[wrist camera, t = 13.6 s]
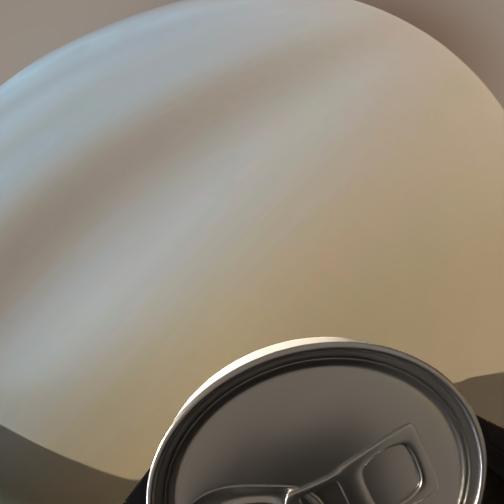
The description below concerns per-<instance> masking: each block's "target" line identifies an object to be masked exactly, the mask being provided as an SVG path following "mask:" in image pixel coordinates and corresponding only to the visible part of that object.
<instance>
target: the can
mask: <svg viewBox="0 0 504 504" xmlns="http://www.w3.org/2000/svg"><path fill="white" fill-rule="evenodd" d="M486 479H487V454H486V447H485V441H484V437H483V433H482V430H481V427H480V424H479V422H478V419H477V417H476V415H475V413H474V411H473V409H472V408H471V406H470V404H469V403H468V401H467V400H466V398H465V397H464V396H463V394H462V393H461V392H460V391H459V389H458V388H457V387H456V386H455V385H454V384H453V383H452V382H451V381H450V380H449V379H448V378H447V377H445V376H444V375H443V374H442V373H440V372H439V371H438V370H436V369H435V368H433V367H432V366H430V365H429V364H427V363H425V362H424V361H422V360H420V359H418V358H416V357H414V356H412V355H409V354H407V353H404V352H401V351H398V350H395V349H392V348H388V347H384V346H380V345H376V344H373V343H370V342H366V341H361V340H356V339H350V338H340V337H313V338H303V339H296V340H291V341H286V342H282V343H278V344H274V345H271V346H268V347H265V348H262V349H260V350H257V351H255V352H252V353H250V354H248V355H246V356H244V357H242V358H240V359H238V360H236V361H234V362H233V363H231V364H229V365H228V366H226V367H225V368H223V369H222V370H220V371H219V372H217V373H216V374H215V375H213V376H212V377H211V378H210V379H208V380H207V381H206V382H205V383H204V384H203V385H202V386H201V387H200V388H199V389H198V390H197V391H196V392H195V393H194V394H193V395H192V396H191V397H190V398H189V399H188V401H187V402H186V403H185V404H184V406H183V407H182V409H181V410H180V411H179V413H178V414H177V416H176V418H175V419H174V421H173V423H172V424H171V426H170V427H169V429H168V430H167V432H166V433H165V435H164V437H163V439H162V441H161V443H160V444H159V446H158V449H157V451H156V453H155V456H154V459H153V461H152V465H151V468H150V472H149V476H148V482H147V490H146V504H482V500H483V496H484V492H485V486H486Z"/></svg>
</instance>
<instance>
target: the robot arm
mask: <svg viewBox="0 0 504 504" xmlns="http://www.w3.org/2000/svg"><path fill="white" fill-rule="evenodd" d="M476 417H477V419H478V422H479V424H480V427H481V430H482V433H483V437H484V441H485V447H486V454H487V479H486V486H485V492H484V496H483V500H482V504H504V428H502V427H500V426H498V425H495V424H493V423H491V422H489V421H486V420H485V419H483V418H481V417H479V416H477V415H476ZM150 468H151V467H150ZM149 472H150V469H149V470H148V471H147V473H146V474H145V475H144V477H143V478H142V479H141V481H140V482H139V483H138V485H137V486H136V487H135V488H134V490H133V491H132V492H131V494H130V495H129V496H128V498H127V499H126V500H125V502H124V503H123V504H146V490H147V482H148V476H149Z"/></svg>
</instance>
